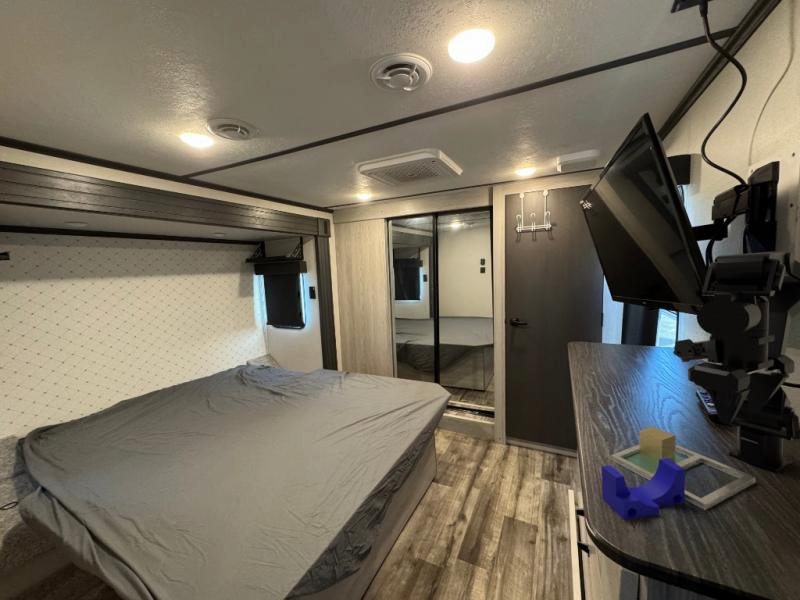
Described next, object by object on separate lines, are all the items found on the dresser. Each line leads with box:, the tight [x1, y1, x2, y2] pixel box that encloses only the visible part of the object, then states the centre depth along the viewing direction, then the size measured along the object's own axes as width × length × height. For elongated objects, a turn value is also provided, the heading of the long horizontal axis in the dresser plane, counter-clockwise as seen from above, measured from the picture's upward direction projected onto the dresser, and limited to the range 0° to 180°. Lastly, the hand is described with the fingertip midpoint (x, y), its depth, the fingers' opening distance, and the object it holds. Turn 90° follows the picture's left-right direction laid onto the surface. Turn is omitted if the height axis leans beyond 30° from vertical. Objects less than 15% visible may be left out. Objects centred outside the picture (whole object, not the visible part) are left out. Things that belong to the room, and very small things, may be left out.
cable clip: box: [601, 458, 686, 520], centre depth 50 cm, size 12×4×6 cm, turn 95°
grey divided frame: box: [610, 443, 756, 511], centre depth 58 cm, size 15×15×1 cm
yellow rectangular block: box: [638, 426, 676, 466], centre depth 61 cm, size 4×4×6 cm
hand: (740, 417), depth 53 cm, fingers open, 9 cm apart
